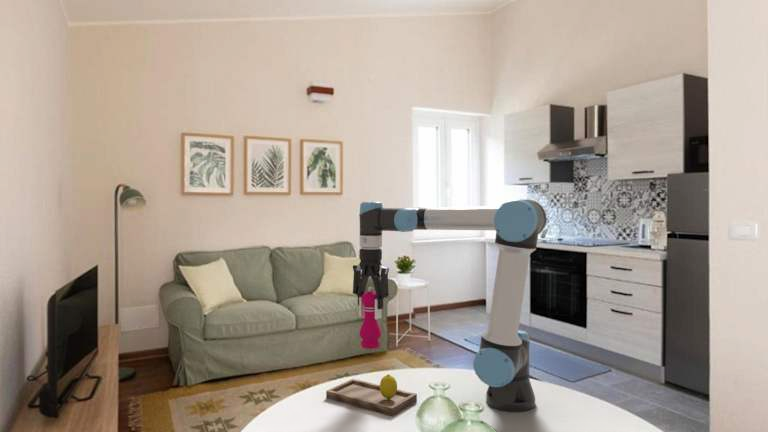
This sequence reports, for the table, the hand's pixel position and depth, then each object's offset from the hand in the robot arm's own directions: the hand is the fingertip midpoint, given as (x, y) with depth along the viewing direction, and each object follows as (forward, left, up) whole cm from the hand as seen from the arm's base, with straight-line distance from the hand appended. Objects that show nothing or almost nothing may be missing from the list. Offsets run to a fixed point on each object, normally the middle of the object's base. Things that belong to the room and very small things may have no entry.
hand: (370, 317), depth 170 cm
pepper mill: (0, 0, -10) cm, 10 cm away
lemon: (-10, +5, -24) cm, 27 cm away
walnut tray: (-4, +5, -26) cm, 26 cm away
